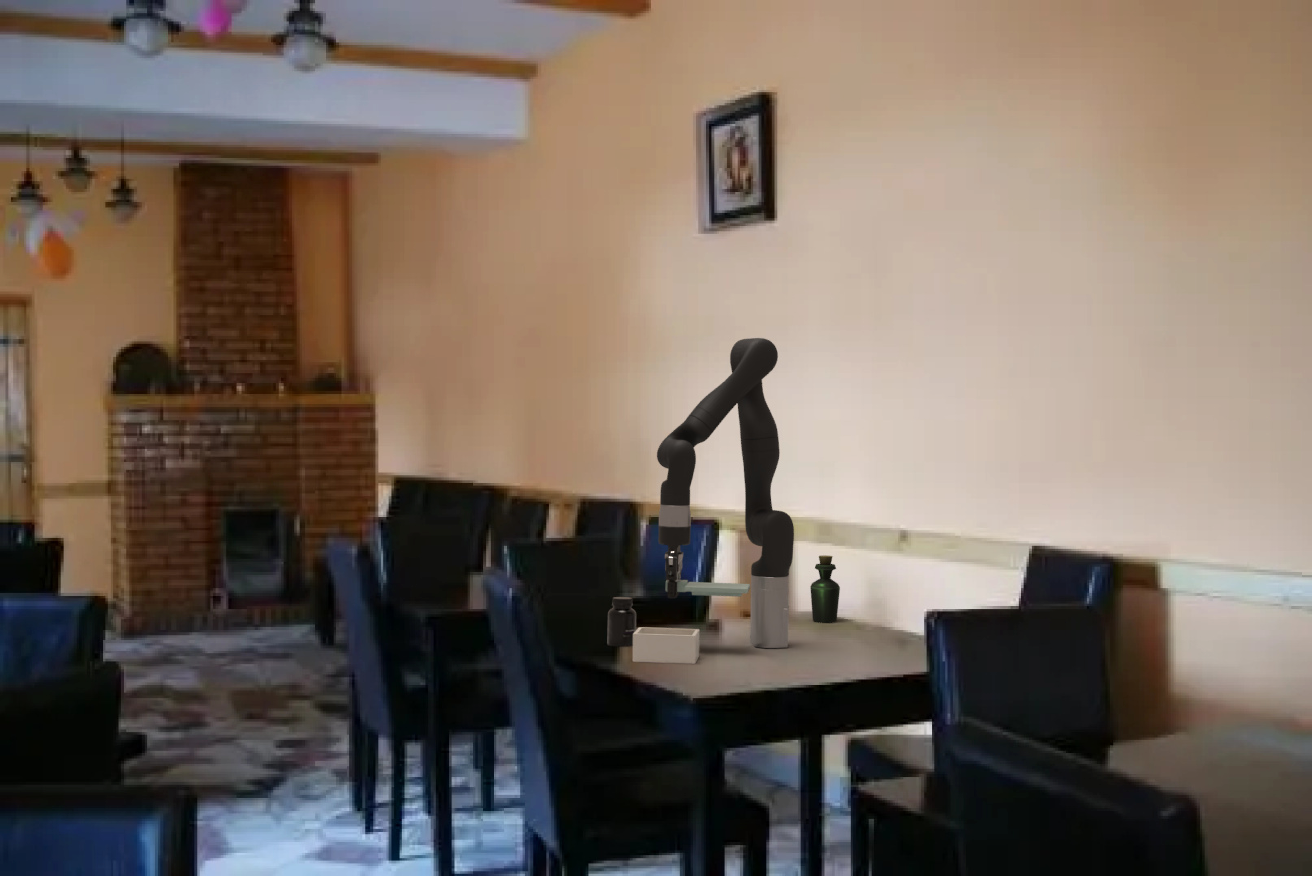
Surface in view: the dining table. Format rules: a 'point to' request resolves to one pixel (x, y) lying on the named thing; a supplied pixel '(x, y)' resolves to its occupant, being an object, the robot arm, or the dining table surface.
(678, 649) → the tub
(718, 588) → the lid
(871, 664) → the dining table surface
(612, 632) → the supplement bottle
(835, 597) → the potion bottle
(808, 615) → the dining table surface
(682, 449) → the robot arm
